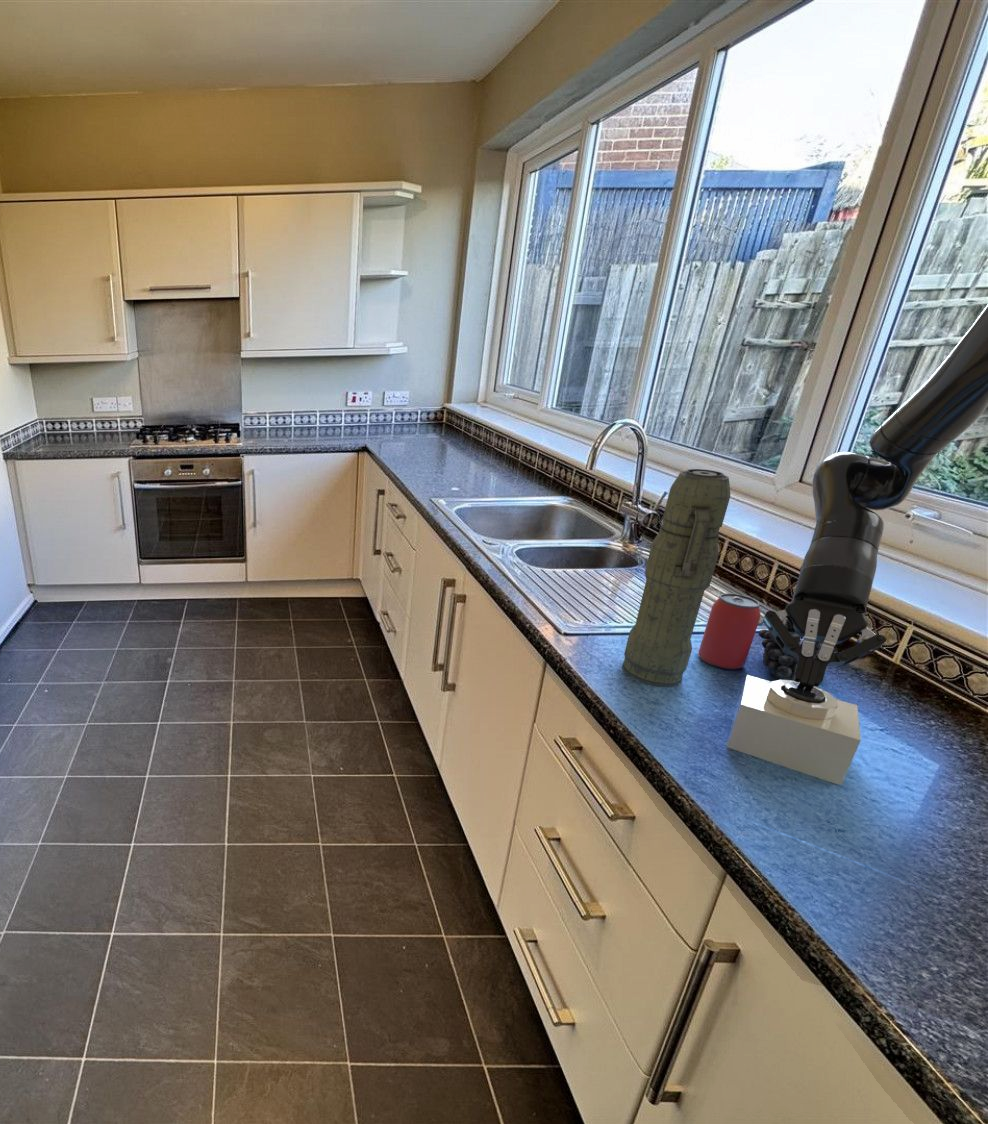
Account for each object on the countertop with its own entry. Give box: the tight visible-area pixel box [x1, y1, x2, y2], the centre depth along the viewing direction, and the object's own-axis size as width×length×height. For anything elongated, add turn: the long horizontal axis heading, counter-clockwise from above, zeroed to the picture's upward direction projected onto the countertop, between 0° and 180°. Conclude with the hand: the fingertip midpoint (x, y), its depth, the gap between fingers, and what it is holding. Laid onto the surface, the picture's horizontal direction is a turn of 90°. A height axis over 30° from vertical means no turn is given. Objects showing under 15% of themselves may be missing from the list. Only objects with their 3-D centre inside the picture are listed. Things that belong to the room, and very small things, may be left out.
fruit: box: [758, 618, 821, 681], centre depth 104 cm, size 9×8×15 cm
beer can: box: [698, 592, 761, 670], centre depth 106 cm, size 7×7×12 cm
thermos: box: [621, 468, 731, 688], centre depth 99 cm, size 9×12×35 cm
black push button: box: [783, 682, 824, 703], centre depth 84 cm, size 4×4×2 cm
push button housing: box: [726, 674, 862, 786], centre depth 85 cm, size 12×10×9 cm
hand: (805, 686), depth 83 cm, fingers closed
